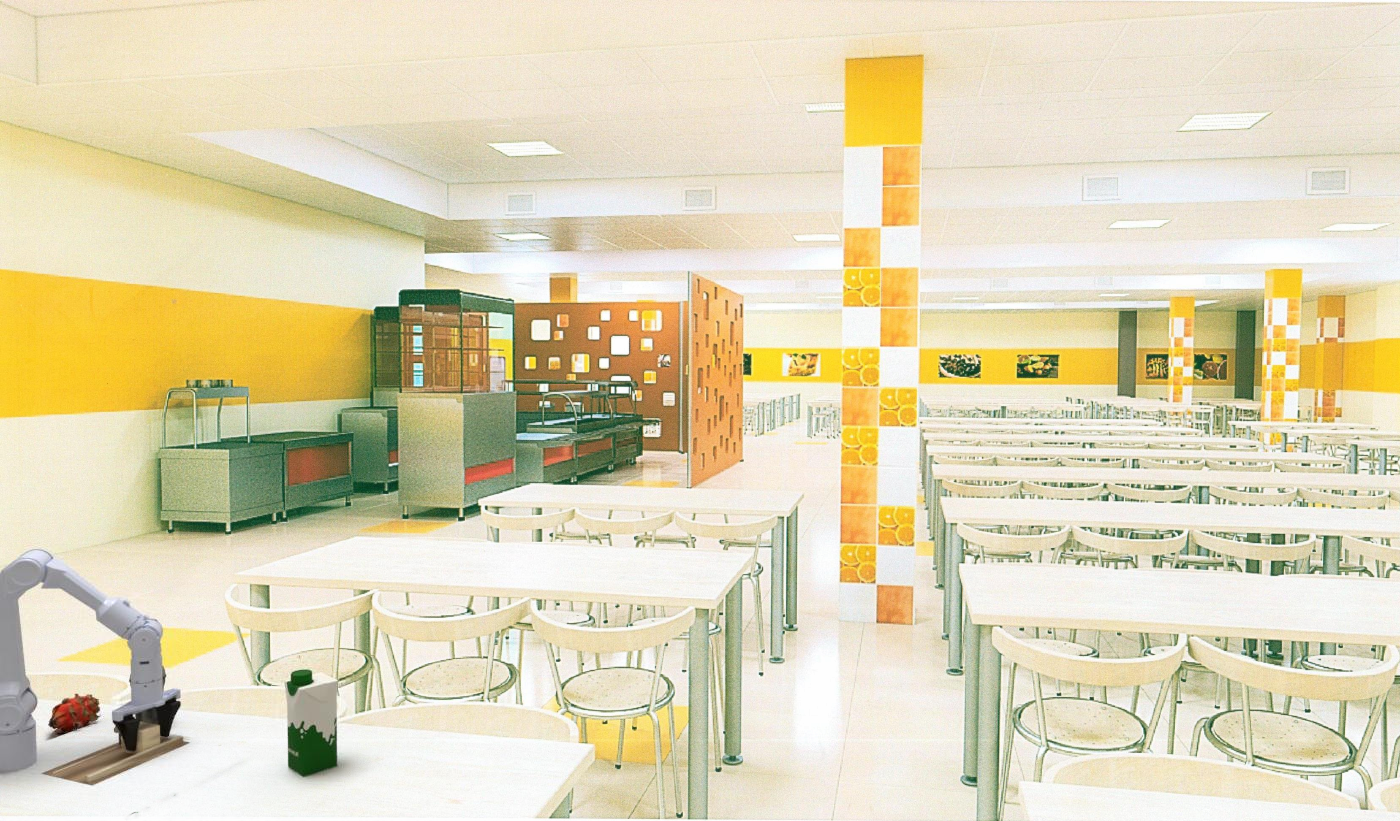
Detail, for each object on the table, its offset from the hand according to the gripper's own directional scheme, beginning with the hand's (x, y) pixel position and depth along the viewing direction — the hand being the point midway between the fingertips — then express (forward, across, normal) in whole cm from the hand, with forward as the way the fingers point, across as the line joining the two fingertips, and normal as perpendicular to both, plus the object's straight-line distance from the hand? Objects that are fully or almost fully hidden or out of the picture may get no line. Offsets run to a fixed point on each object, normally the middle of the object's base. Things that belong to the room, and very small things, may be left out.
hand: (148, 742), depth 201 cm
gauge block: (+1, -2, +2) cm, 3 cm away
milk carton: (+3, +8, -36) cm, 37 cm away
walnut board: (+2, -6, +1) cm, 6 cm away
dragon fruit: (+3, +3, +26) cm, 26 cm away
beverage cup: (+3, +10, +12) cm, 16 cm away
